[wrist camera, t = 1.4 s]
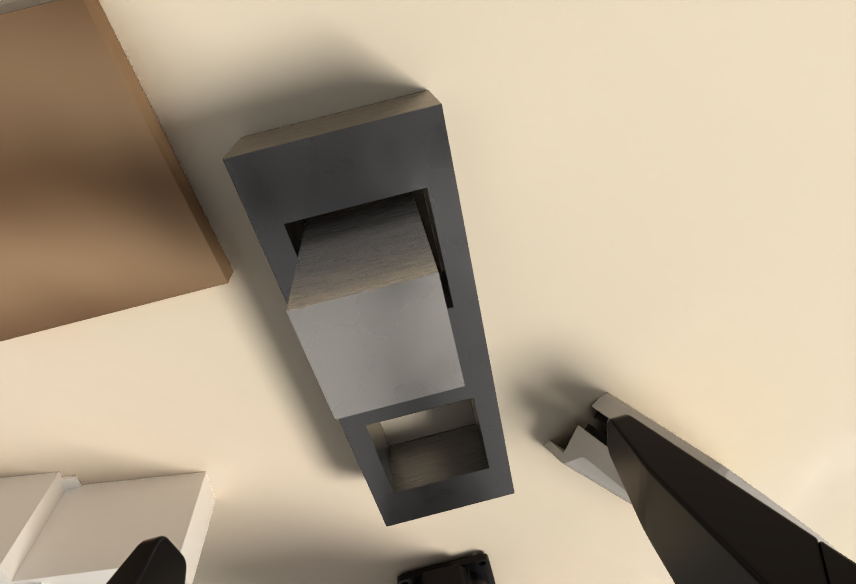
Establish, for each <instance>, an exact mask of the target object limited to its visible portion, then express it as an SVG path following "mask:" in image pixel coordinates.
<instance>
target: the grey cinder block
mask: <svg viewBox="0 0 856 584" xmlns="http://www.w3.org/2000/svg"><path fill="white" fill-rule="evenodd" d="M223 161H224V163H225V165H226V168H227V170H228V172H229V174H230V177H231V179H232V181H233V183H234V186H235V188H236V190H237V192H238V195H239V197H240V199H241V201H242V203H243V206H244V208H245V210H246V212H247V215H248V217H249V219H250V221H251V224H252V226H253V228H254V230H255V233H256V235H257V237H258V239H259V242H260V244H261V246H262V248H263V251H264V253H265V255H266V257H267V260H268V262H269V264H270V266H271V268H272V271H273V273H274V275H275V277H276V280H277V282H278V284H279V286H280V289H281V291H282V293H283V295H284V298H285V300H286V302H287V304H288V301H289V296H290V292H291V287H292V283H293V278H294V274H295V269H296V264H297V260H298V255H299V251H300V246H301V241H302V237H303V232H304V228H305V225H304V222H303V219H305V218H309V217H313V216H317V215H321V214H325V213H329V212H333V211H337V210H341V209H345V208H348V207H352V206H356V205H360V204H364V203H368V202H372V201H376V200H380V199H384V198H388V197H392V196H395V195H399V194H403V193H407V192H411V191H415V190H419V189H423V193H424V197H425V201H426V206H427V210H428V215H429V219H430V223H431V228H432V232H433V237H434V241H435V245H436V250H437V254H438V258H439V263H440V267H441V272H439V277H440V281H441V285H442V289H443V294H444V298H445V302H446V307H447V311H448V315H449V320H450V324H451V328H452V333H453V337H454V341H455V345H456V350H457V354H458V358H459V363H460V367H461V371H462V376H463V380H464V384H465V386H463V387H459V388H455V389H452V390H448V391H444V392H440V393H436V394H432V395H428V396H425V397H421V398H417V399H413V400H409V401H405V402H401V403H398V404H394V405H390V406H386V407H382V408H378V409H374V410H370V411H367V412H363V413H359V414H355V415H351V416H347V417H343V418H340V419H339V421H340V423H341V425H342V428H343V430H344V432H345V434H346V437H347V439H348V441H349V443H350V446H351V448H352V450H353V452H354V455H355V457H356V459H357V461H358V464H359V466H360V468H361V470H362V472H363V475H364V477H365V479H366V481H367V484H368V486H369V488H370V490H371V493H372V495H373V497H374V499H375V502H376V504H377V506H378V508H379V511H380V513H381V515H382V517H383V520H384V522H385V524H386V526H391V525H395V524H399V523H402V522H406V521H410V520H414V519H418V518H421V517H425V516H429V515H433V514H437V513H441V512H444V511H448V510H452V509H456V508H460V507H463V506H467V505H471V504H475V503H479V502H483V501H486V500H490V499H494V498H498V497H502V496H505V495H509V494H513V493H514V488H513V483H512V478H511V472H510V467H509V462H508V456H507V451H506V446H505V440H504V435H503V430H502V424H501V419H500V414H499V408H498V403H497V398H496V392H495V387H494V382H493V376H492V371H491V365H490V360H489V355H488V349H487V344H486V339H485V333H484V328H483V323H482V317H481V312H480V307H479V301H478V296H477V291H476V285H475V280H474V275H473V269H472V264H471V259H470V253H469V248H468V243H467V237H466V232H465V227H464V221H463V216H462V210H461V205H460V200H459V194H458V189H457V184H456V178H455V173H454V168H453V162H452V157H451V152H450V146H449V141H448V136H447V130H446V125H445V120H444V114H443V109H442V104H441V103H440V102H439V101H438V100H437V99H436V98H435V97H434V96H433V94H432V93H431V92H430V91H429V90H427V91H423V92H419V93H415V94H411V95H407V96H403V97H399V98H395V99H391V100H387V101H383V102H379V103H375V104H372V105H368V106H364V107H360V108H356V109H352V110H348V111H344V112H340V113H336V114H332V115H328V116H324V117H320V118H316V119H312V120H309V121H305V122H301V123H297V124H293V125H289V126H285V127H281V128H277V129H273V130H269V131H265V132H261V133H257V134H253V135H249V136H245V137H242V138H241V139H240V140H239V141H238V142H237V144H236V145H235V146H234V147H233V148H232V149H231V150H230V152H229V153H228V154H227V155H226V156H225V157H224V158H223ZM466 399H471V403H472V408H473V412H474V416H475V421H476V424H474V425H470V426H466V427H463V428H459V429H455V430H451V431H447V432H443V433H440V434H436V435H432V436H428V437H424V438H420V439H417V440H413V441H409V442H405V443H401V444H397V445H393V446H390V447H389V445H388V442H387V439H386V437H385V434H384V432H383V429H382V426H381V424H380V422H381V421H385V420H389V419H393V418H397V417H401V416H405V415H408V414H412V413H416V412H420V411H424V410H428V409H431V408H435V407H439V406H443V405H447V404H451V403H455V402H458V401H462V400H466Z"/></svg>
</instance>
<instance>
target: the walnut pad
mask: <svg viewBox="0 0 856 584" xmlns="http://www.w3.org/2000/svg"><path fill="white" fill-rule="evenodd" d="M232 273H233V270H232V268H231V266H230V264H229V262H228V260H227V258H226V256H225V254H224V252H223V250H222V248H221V246H220V244H219V242H218V240H217V238H216V236H215V234H214V232H213V230H212V228H211V226H210V224H209V222H208V220H207V218H206V216H205V214H204V212H203V210H202V208H201V206H200V204H199V202H198V200H197V198H196V196H195V194H194V192H193V190H192V188H191V186H190V184H189V182H188V180H187V178H186V176H185V174H184V172H183V170H182V168H181V166H180V163H179V161H178V159H177V157H176V155H175V153H174V151H173V149H172V147H171V145H170V143H169V141H168V139H167V137H166V135H165V133H164V131H163V129H162V127H161V125H160V123H159V121H158V119H157V117H156V115H155V113H154V111H153V109H152V107H151V105H150V103H149V101H148V99H147V97H146V95H145V93H144V91H143V89H142V87H141V85H140V83H139V81H138V79H137V77H136V75H135V73H134V71H133V69H132V67H131V65H130V63H129V61H128V59H127V57H126V55H125V53H124V51H123V49H122V47H121V45H120V43H119V41H118V39H117V37H116V35H115V33H114V31H113V29H112V27H111V25H110V23H109V21H108V19H107V17H106V15H105V13H104V11H103V9H102V7H101V5H100V3H99V1H98V0H57V1H53V2H49V3H45V4H41V5H37V6H33V7H29V8H25V9H21V10H17V11H13V12H9V13H5V14H1V15H0V341H4V340H8V339H12V338H15V337H19V336H23V335H27V334H31V333H35V332H39V331H43V330H47V329H51V328H54V327H58V326H62V325H66V324H70V323H74V322H78V321H82V320H86V319H90V318H93V317H97V316H101V315H105V314H109V313H113V312H117V311H121V310H125V309H129V308H132V307H136V306H140V305H144V304H148V303H152V302H156V301H160V300H164V299H167V298H171V297H175V296H179V295H183V294H187V293H191V292H195V291H199V290H203V289H206V288H210V287H214V286H218V285H222V284H226V283H228V282H229V279H230V277H231V275H232Z"/></svg>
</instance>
